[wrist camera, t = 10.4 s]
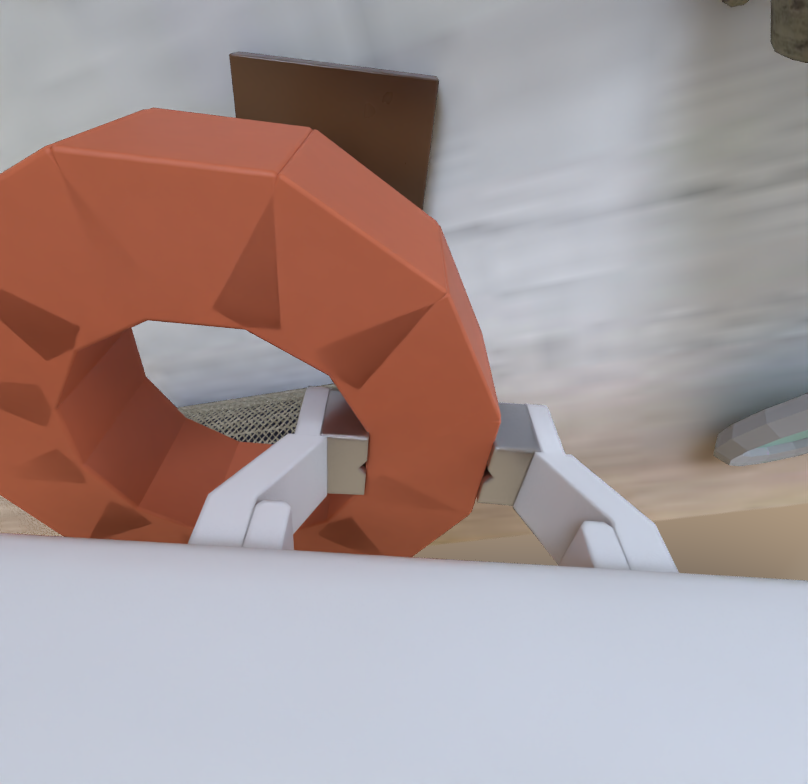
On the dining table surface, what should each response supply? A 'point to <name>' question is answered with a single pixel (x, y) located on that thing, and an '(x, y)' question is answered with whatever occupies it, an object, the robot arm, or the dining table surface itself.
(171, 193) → the ring
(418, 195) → the stand
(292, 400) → the portable speaker
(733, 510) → the dining table surface
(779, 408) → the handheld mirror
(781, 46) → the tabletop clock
